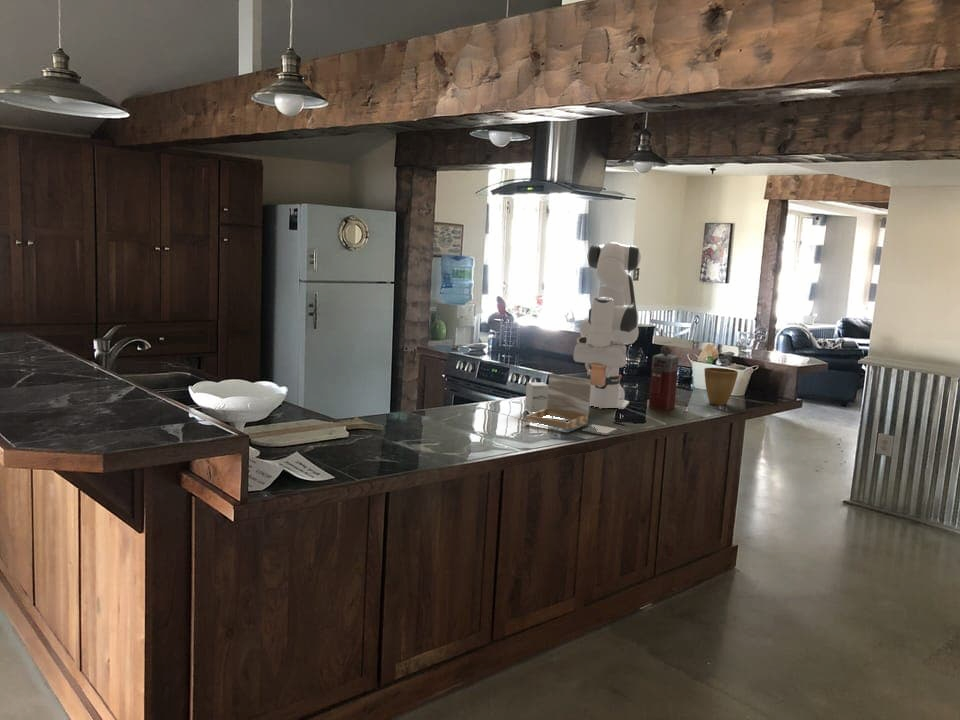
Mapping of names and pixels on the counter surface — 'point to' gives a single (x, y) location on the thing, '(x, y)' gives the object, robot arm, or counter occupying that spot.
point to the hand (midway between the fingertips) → (598, 376)
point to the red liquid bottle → (663, 380)
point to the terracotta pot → (598, 374)
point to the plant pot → (719, 384)
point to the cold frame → (565, 402)
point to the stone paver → (603, 428)
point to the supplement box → (536, 396)
